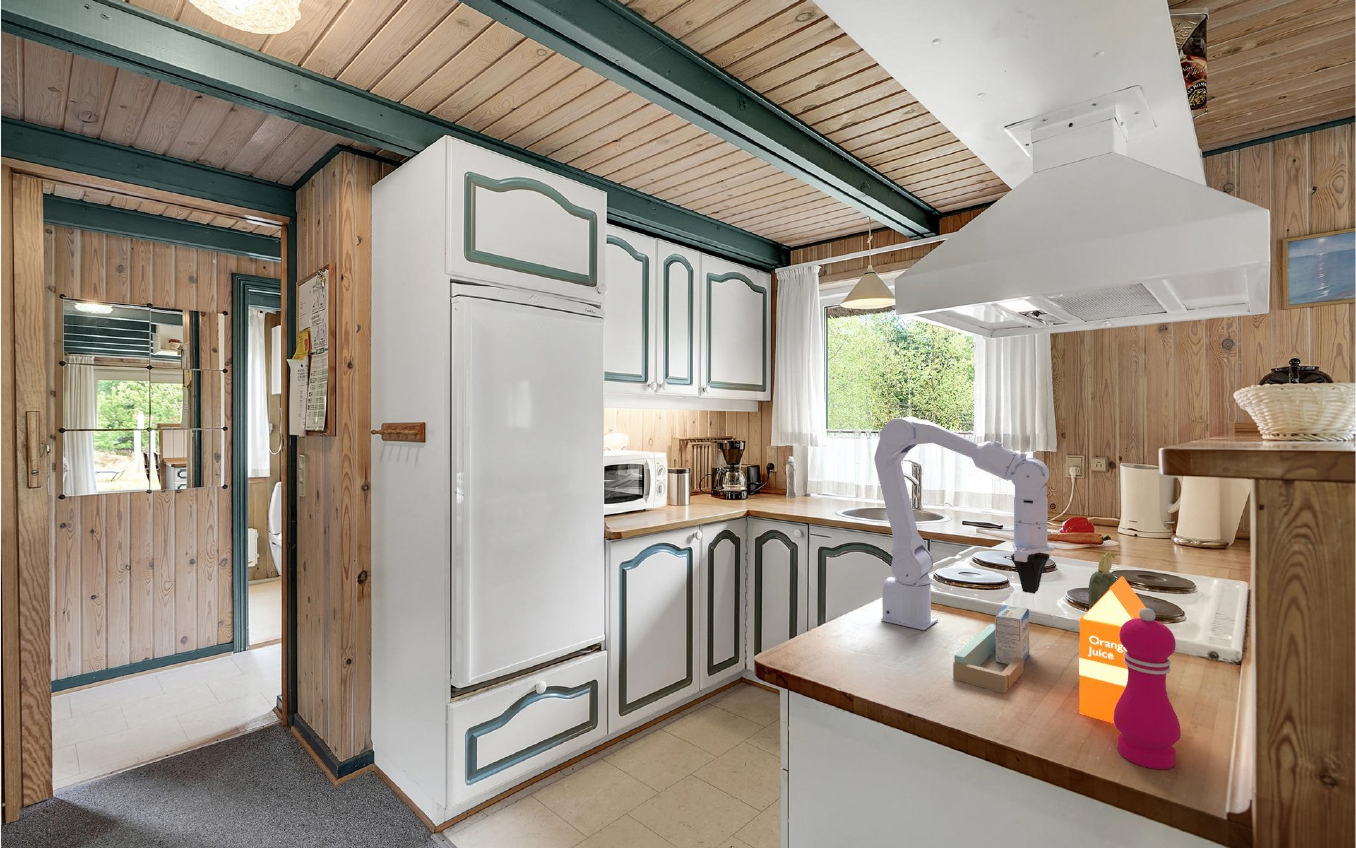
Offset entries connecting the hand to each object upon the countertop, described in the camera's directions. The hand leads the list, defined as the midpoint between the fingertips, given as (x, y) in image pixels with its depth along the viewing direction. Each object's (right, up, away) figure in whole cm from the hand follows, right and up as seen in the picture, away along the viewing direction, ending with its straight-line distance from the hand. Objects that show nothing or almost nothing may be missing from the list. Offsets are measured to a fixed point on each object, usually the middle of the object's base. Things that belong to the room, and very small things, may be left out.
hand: (1030, 591), depth 124 cm
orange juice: (-2, -12, -26) cm, 29 cm away
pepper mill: (-6, -12, -39) cm, 41 cm away
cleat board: (-11, -11, -9) cm, 18 cm away
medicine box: (-6, -11, -6) cm, 14 cm away
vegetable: (+9, -11, -7) cm, 16 cm away
